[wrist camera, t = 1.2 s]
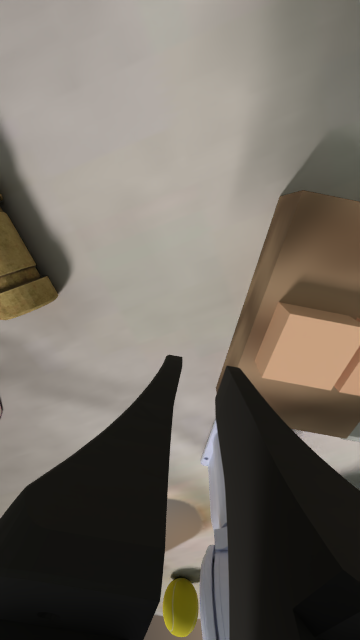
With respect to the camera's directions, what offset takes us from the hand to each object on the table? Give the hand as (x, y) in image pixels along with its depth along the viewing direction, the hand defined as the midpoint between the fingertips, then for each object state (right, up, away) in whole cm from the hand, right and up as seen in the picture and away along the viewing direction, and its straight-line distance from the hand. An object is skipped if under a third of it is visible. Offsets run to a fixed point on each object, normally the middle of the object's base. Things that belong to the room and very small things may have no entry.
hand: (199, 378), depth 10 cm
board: (+10, +2, +9) cm, 14 cm away
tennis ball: (-1, -52, +36) cm, 64 cm away
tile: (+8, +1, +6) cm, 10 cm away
